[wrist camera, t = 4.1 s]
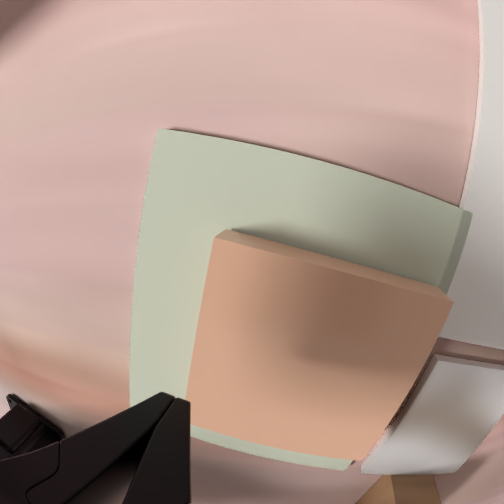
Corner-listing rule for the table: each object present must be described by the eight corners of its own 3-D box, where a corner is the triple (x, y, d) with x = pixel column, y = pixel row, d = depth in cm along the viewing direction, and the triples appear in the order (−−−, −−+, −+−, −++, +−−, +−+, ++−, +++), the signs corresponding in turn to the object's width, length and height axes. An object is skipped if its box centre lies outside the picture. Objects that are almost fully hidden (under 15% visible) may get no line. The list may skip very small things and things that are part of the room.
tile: (194, 398, 13) (358, 436, 12) (182, 421, 11) (361, 460, 11) (227, 228, 11) (436, 285, 10) (214, 237, 9) (453, 302, 8)
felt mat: (344, 465, 13) (345, 470, 13) (133, 408, 14) (129, 412, 14) (468, 212, 9) (473, 213, 9) (162, 129, 11) (158, 128, 10)
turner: (392, 522, 15) (396, 564, 10) (310, 520, 15) (306, 568, 11) (524, 367, 10) (564, 414, 6) (433, 353, 11) (473, 420, 7)
